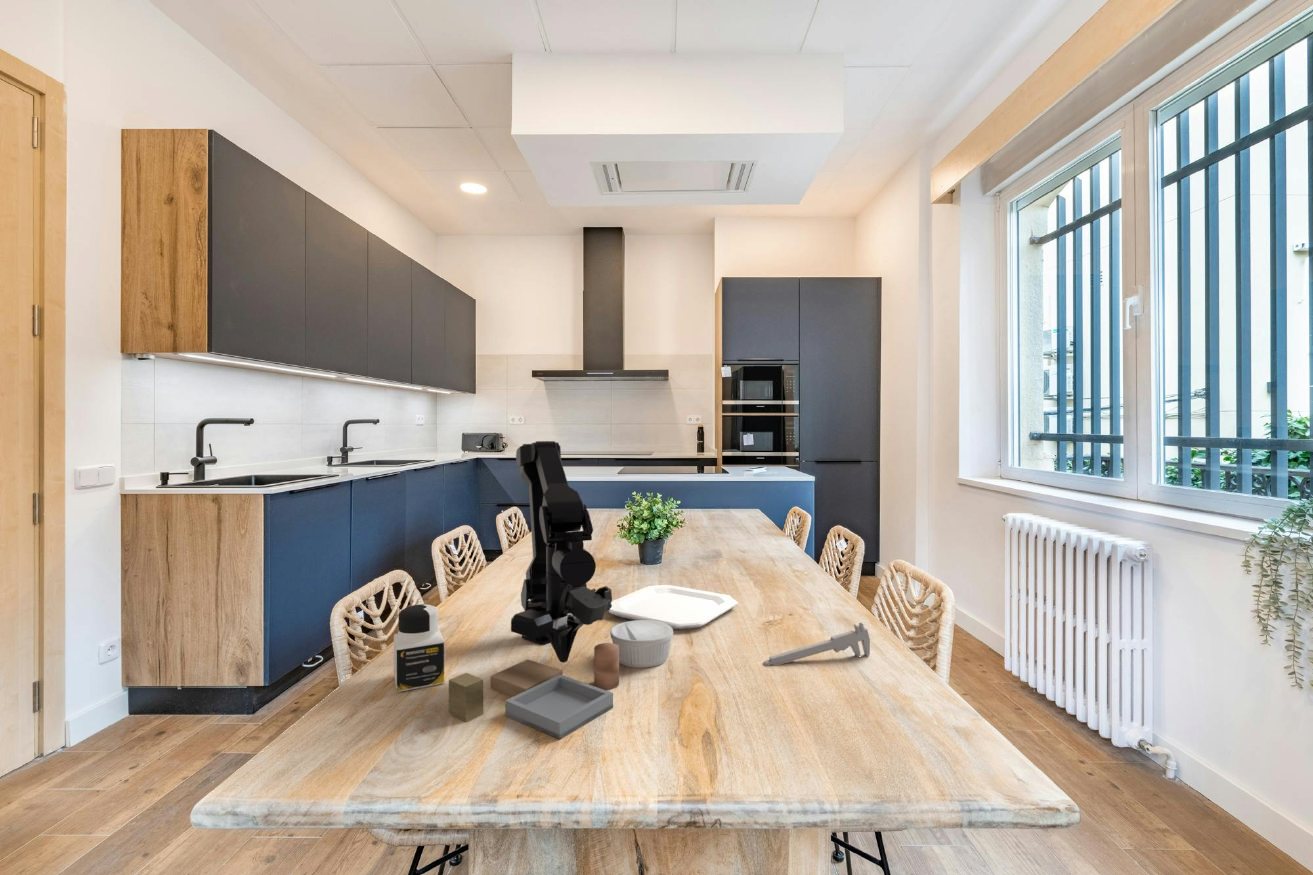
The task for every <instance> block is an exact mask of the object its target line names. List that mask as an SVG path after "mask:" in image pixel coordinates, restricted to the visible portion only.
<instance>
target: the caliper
mask: <svg viewBox="0 0 1313 875" xmlns="http://www.w3.org/2000/svg"><path fill="white" fill-rule="evenodd" d="M853 627H854V630H849V631H845V632H843V633H839V634H836V635H833V636H830V639H827V640H823V641H819V642H817V643H813V644H809V645H806V646H802V647H799V648H796V649H795V648H794V649H792V650H788V651H786V652H785V651H784V652H781V653H778V654H775V655H771V656H769V659H767V660H764V661H763V662H762V664H763V665H764V666H765V667H767V666H770V665H771V666H778V665H779V664H780V665H783V664H787V663H791V662H793V661H796V660H800V659H803V658H804V659H805V658H807V657H811V656H814V655H817V654H821V653H824V652H828V651H831V650H833V651H834V652H835V653H839V652H840V651H845V650H847V649H848V648H849V647H850V648H851V649H852V652H853V653H854V655H855V656H856V657H857V656H861V650H860V645H859V642H861V645H862V649H863V654H864V655H865V654H866V655H867V656H866V655H865V656H866V657H869V656H870V654H871V638H870V635H869V630H868V629H867V628H866V627H864V624H863V623H862V622H859V623H858V625H856V624H853ZM861 657H862V656H861Z"/></svg>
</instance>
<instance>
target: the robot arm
mask: <svg viewBox="0 0 1313 875" xmlns="http://www.w3.org/2000/svg"><path fill="white" fill-rule="evenodd" d="M561 450H562V449H561V445H560V444H559V442H558V441H557V442H556V441H555V440H543V441H542V440H537V441H535V442H532V443H523V444H522V445H520V446H519V447H517V449H516V452H515V461H516V462H515V464H516V466H517V467H519V476H520V478H521V479H522V480H523V482H524V483H525V484H526V486H527V487H528V495H529V496H528V497H529V510H530V511H529V513H530V529H531V542H532V545H531V546H532V559H531V561H530V563H529V565H528V567H527V570H526V572H525V579H523V584H522V587H521V591H520V603H521V607H522V609H523V610H524V611H521V612H518V613H515V614H513V616H512V617H511V619H510V632H511V633H515V634H517V635H521V638H522V639H526V640H529V641H533V642H535V643H538V644H541V645H546V644H548V643H550V645H551V647H552V649H553V650H554V653H555V655H556V656H557V658H558V661H559V662H560V663H563V664H564V663H566V662H568V659H569V657H570V654H571V650H572V648H573V644H574V642H575V639H576V635H577V633H578V631H579V629H581V628H582V626H584V625H587V626H590V625H592V624H593V623H595V622H597V621H602V620H603V619H604V617H605V614H606V612H609V611H608V610H610V608H611V607H612V604H611V602H612V601H613V595H612V594H613V593H612V589H611V588H610V587H608V586H606V585H604V586H602V587H599V588H598V589H596V588H592V589H590V588H588V586H587V583H589V582H590V580H592V578H593V577H594V575H595V572H596V567H597V563H596V561H595V558H594V556H593V555H592V554H591V553H590V552H589V551H588V550H586V549H585V548H584V542H585V541H592V540H593V538H592V537H593V536H592V535H593V532H594V528H593V527H594V526H593V523H592V520H591V516H590V512H589V510H588V508H587V505H586V504H585V503H584V501H583V499H582V497H581V495H580V494H579V492H578V491H576V490H575V489H574V488H572V487H570V485H569V482H568V479H567V476H566V473H565V470H564V466H563V462H562V451H561ZM581 528H582V530H581Z"/></svg>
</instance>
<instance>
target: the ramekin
mask: <svg viewBox="0 0 1313 875" xmlns="http://www.w3.org/2000/svg"><path fill="white" fill-rule="evenodd" d="M673 636H674V629H672V628H671V627H670V626H669V625H667V624H665V623H663V622H658V621H651V620H636V621H635V620H630V621H629V620H628V621H624V622H620V623H618V624H616V625H614V626H613V627H612V628H611V629H610V638H611V641H612V643H613V644H616V645H618V646H619V664H621V665H623V666H625V667H629V668H636V669H646V668H647V669H648V668H653V667H657V666H659V665H662V664H663V663H664V662H665V661H666V660H667V659H668V658H669V655H670V650H671V645H672V639H673Z"/></svg>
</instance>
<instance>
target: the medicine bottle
mask: <svg viewBox="0 0 1313 875" xmlns="http://www.w3.org/2000/svg"><path fill="white" fill-rule="evenodd" d="M393 679H394V686H395V691H396V692H397V693H401V692H406V691H412V690H417V689H418V690H419V689H422V688H427V687H432V686H438V685H443V684H444V683H445V640H444V638H443V636H442V634H441V631H440V629H439V609H438V607H436V606H435V605H432V604H424V603H423V604H413V605H410V606H407V607H405V608H403V609H401V610H400V611H399V613H398V633H395V634H393Z"/></svg>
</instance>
